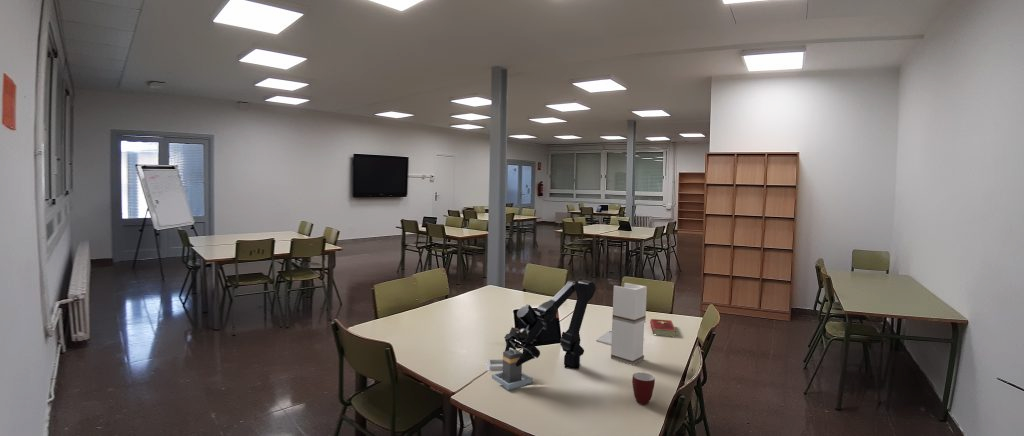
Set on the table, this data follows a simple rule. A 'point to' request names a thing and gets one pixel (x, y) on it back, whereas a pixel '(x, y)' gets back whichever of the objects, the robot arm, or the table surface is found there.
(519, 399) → the table surface
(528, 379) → the light blue square frame
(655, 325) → the hardcover book
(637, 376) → the mug
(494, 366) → the dock
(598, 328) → the table surface
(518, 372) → the block
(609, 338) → the gadget
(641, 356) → the banded white pillar
